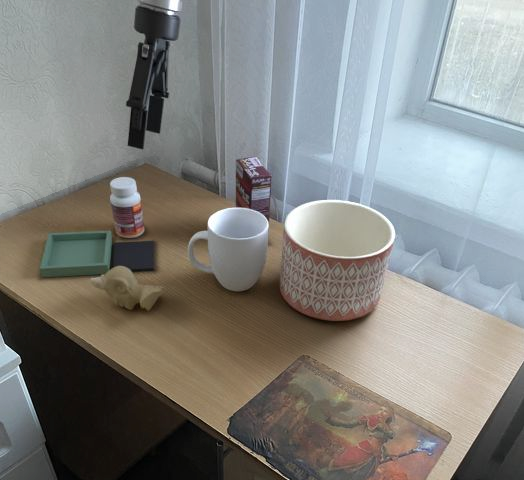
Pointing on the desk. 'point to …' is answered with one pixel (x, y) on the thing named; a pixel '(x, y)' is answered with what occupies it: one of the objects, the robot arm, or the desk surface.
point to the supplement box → (253, 186)
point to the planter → (335, 259)
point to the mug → (234, 247)
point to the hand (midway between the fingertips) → (144, 139)
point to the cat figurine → (127, 288)
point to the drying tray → (76, 254)
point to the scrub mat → (134, 255)
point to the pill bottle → (126, 207)
